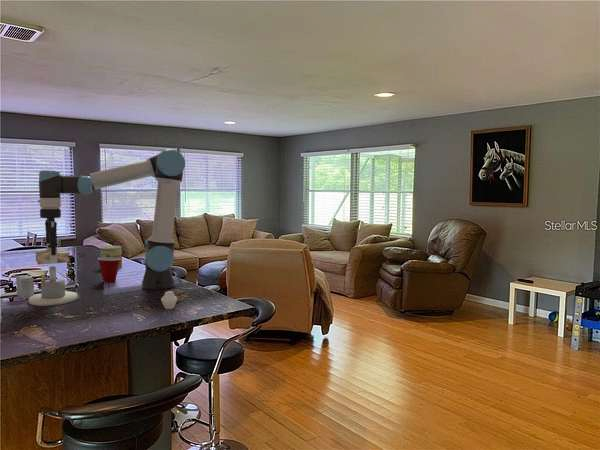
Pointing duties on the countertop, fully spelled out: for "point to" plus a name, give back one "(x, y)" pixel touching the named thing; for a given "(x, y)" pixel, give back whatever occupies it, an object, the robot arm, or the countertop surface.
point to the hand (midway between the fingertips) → (52, 260)
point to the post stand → (52, 291)
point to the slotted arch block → (44, 258)
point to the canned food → (112, 253)
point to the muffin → (169, 300)
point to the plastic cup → (109, 268)
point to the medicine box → (24, 286)
